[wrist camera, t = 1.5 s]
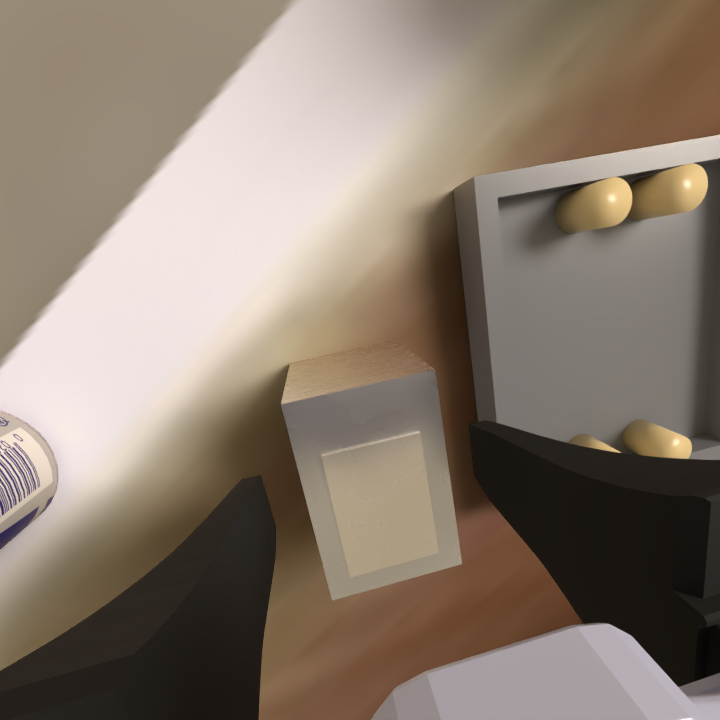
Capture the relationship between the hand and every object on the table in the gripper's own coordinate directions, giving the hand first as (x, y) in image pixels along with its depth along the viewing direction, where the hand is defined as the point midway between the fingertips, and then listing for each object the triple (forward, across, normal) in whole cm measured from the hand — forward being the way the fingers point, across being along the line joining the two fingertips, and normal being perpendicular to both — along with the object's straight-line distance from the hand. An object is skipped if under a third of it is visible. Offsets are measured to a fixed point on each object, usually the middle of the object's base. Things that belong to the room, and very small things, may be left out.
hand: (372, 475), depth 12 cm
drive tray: (+4, -12, -2) cm, 12 cm away
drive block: (+4, 0, 0) cm, 4 cm away
